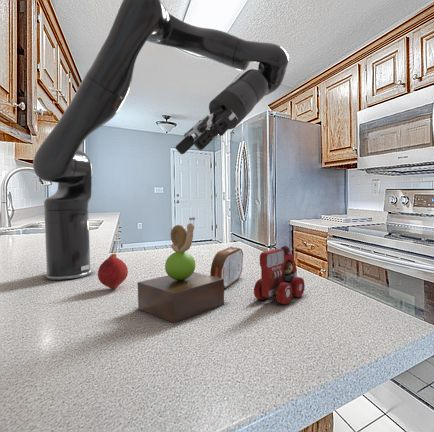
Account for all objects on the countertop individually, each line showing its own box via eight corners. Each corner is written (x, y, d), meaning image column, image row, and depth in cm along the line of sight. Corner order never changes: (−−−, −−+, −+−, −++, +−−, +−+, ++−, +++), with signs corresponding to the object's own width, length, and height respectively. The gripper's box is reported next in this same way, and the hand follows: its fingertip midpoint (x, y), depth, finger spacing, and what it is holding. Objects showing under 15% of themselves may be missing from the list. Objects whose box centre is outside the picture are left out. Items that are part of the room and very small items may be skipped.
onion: (114, 293, 65) (113, 256, 65) (91, 292, 67) (90, 255, 66) (133, 286, 71) (132, 251, 71) (112, 284, 72) (111, 250, 72)
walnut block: (138, 309, 57) (137, 282, 56) (188, 293, 66) (187, 270, 65) (174, 323, 50) (174, 293, 50) (224, 304, 59) (224, 278, 59)
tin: (233, 275, 81) (233, 244, 80) (245, 276, 80) (245, 244, 80) (208, 292, 66) (208, 254, 66) (222, 293, 66) (222, 254, 65)
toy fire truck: (308, 292, 67) (309, 245, 66) (278, 310, 56) (278, 253, 56) (281, 287, 70) (282, 242, 70) (248, 303, 60) (248, 250, 59)
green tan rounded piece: (181, 286, 54) (180, 218, 53) (159, 281, 57) (157, 216, 56) (205, 279, 58) (204, 216, 58) (182, 274, 62) (181, 215, 61)
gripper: (208, 97, 74) (161, 139, 67) (241, 81, 64) (190, 128, 57) (227, 123, 78) (184, 165, 71) (262, 112, 68) (216, 160, 61)
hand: (187, 148), depth 64 cm, fingers open, 8 cm apart
